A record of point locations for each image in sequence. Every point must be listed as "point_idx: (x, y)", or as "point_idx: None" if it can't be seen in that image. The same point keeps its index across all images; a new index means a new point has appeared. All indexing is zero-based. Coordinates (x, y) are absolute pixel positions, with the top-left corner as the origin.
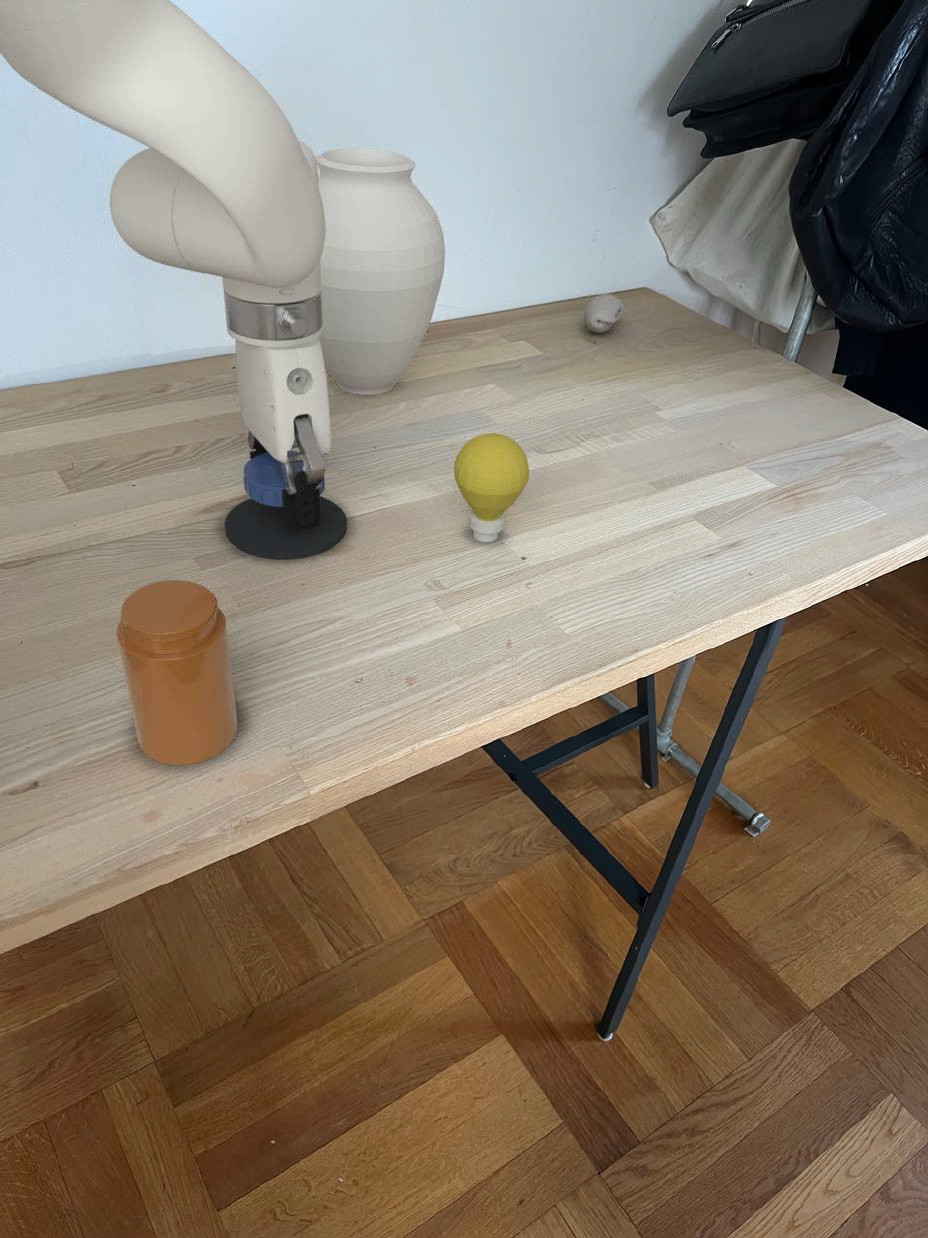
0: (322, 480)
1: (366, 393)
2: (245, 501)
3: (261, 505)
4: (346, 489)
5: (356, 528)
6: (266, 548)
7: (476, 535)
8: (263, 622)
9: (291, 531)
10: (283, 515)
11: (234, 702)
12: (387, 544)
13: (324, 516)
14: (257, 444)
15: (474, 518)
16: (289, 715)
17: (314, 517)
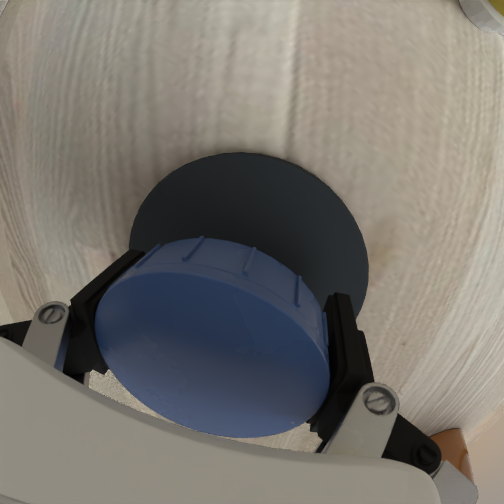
0: (305, 310)
1: (4, 4)
2: None
3: None
4: (168, 86)
5: (336, 163)
6: None
7: (488, 29)
8: (411, 397)
9: None
10: None
11: (465, 447)
12: (426, 155)
13: (269, 211)
14: (85, 376)
15: (501, 19)
16: (483, 406)
17: (364, 335)
